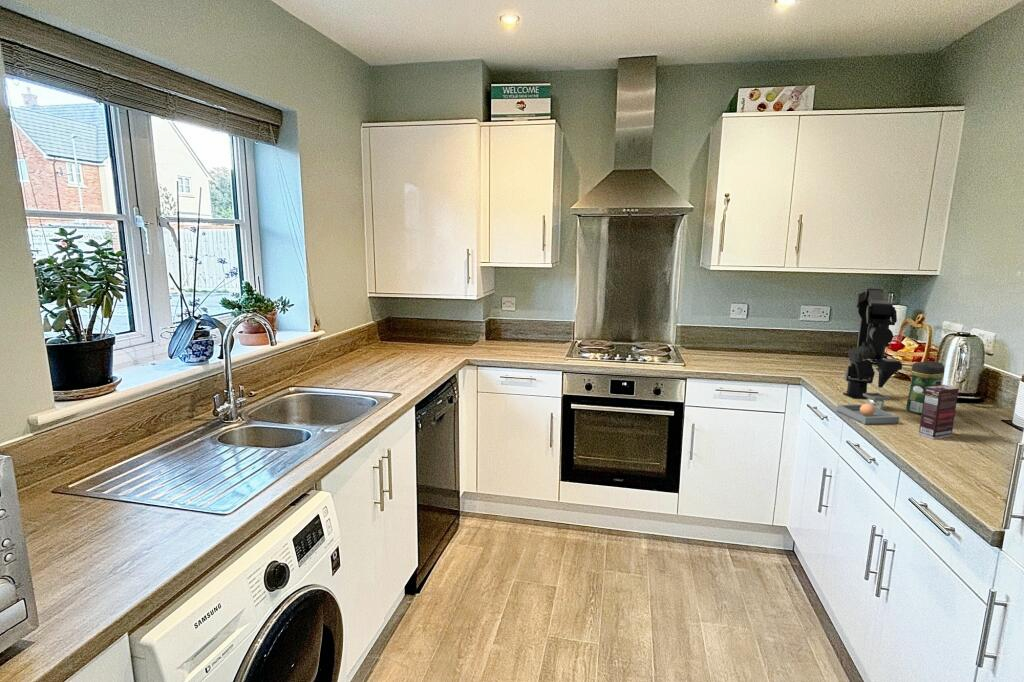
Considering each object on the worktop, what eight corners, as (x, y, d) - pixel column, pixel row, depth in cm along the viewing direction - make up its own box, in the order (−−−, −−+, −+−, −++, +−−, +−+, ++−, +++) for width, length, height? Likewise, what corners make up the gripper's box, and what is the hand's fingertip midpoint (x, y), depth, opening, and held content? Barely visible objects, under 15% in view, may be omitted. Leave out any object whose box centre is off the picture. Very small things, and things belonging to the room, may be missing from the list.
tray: (836, 411, 195) (837, 405, 194) (867, 411, 196) (868, 404, 195) (864, 424, 181) (865, 417, 180) (898, 424, 182) (899, 417, 182)
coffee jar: (919, 407, 201) (927, 358, 197) (942, 414, 193) (950, 363, 190) (900, 409, 198) (908, 360, 194) (923, 416, 190) (931, 365, 187)
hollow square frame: (861, 405, 202) (863, 393, 201) (876, 405, 202) (877, 392, 201) (873, 410, 196) (874, 397, 195) (888, 410, 196) (890, 397, 196)
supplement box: (935, 431, 175) (943, 384, 172) (952, 437, 171) (960, 388, 168) (917, 434, 172) (924, 386, 169) (933, 440, 168) (941, 390, 165)
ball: (856, 414, 190) (857, 402, 190) (868, 414, 191) (869, 401, 190) (865, 418, 186) (866, 405, 185) (877, 417, 186) (878, 405, 186)
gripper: (835, 334, 193) (830, 377, 196) (874, 345, 175) (867, 392, 178) (865, 334, 194) (859, 376, 197) (906, 345, 176) (899, 391, 179)
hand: (870, 383), depth 188 cm, fingers open, 9 cm apart
